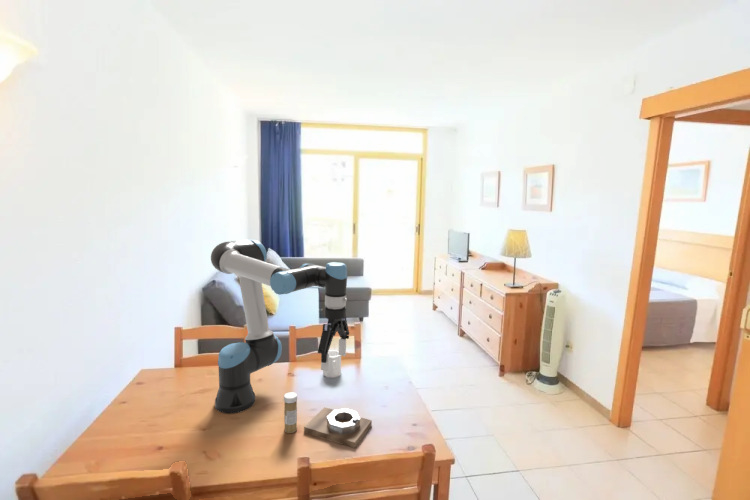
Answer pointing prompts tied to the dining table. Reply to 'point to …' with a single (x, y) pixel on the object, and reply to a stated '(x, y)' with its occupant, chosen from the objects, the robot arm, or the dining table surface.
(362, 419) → the block
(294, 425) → the sprinkles bottle
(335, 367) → the mug
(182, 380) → the dining table surface
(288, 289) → the robot arm
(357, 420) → the ring
